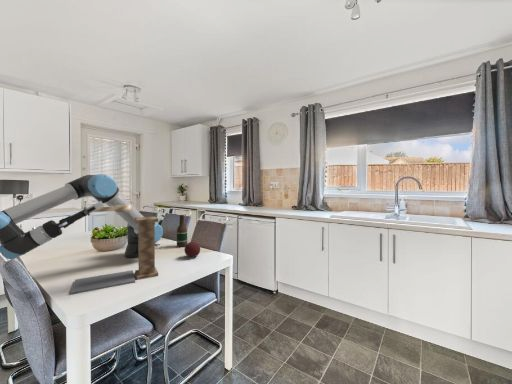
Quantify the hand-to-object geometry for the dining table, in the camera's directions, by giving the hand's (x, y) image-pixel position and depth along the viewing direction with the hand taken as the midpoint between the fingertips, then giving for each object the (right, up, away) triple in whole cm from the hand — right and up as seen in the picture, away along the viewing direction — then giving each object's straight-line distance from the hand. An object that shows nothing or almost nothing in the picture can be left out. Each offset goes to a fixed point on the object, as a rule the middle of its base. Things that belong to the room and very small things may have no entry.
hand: (102, 203), depth 114 cm
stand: (+16, -38, +12) cm, 43 cm away
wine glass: (-4, -36, +69) cm, 78 cm away
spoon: (+2, -4, +2) cm, 5 cm away
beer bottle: (+17, -36, +67) cm, 78 cm away
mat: (0, -38, +2) cm, 38 cm away
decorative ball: (+32, -37, +41) cm, 64 cm away
